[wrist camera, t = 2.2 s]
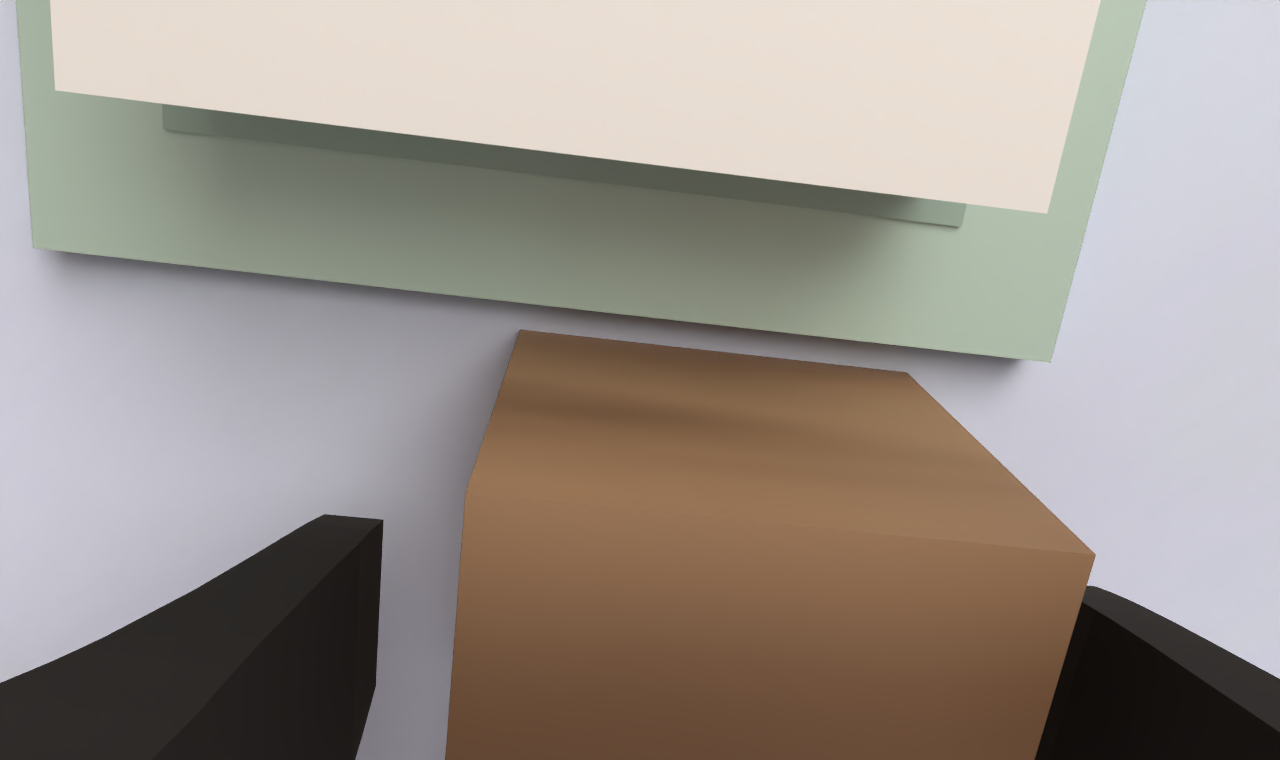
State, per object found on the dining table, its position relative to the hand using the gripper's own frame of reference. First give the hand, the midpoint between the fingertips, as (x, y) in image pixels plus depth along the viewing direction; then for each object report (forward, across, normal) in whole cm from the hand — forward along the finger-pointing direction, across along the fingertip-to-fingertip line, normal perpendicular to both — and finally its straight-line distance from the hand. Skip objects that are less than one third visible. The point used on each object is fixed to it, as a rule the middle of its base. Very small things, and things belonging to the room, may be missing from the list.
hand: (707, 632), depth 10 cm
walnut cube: (+3, 0, 0) cm, 3 cm away
